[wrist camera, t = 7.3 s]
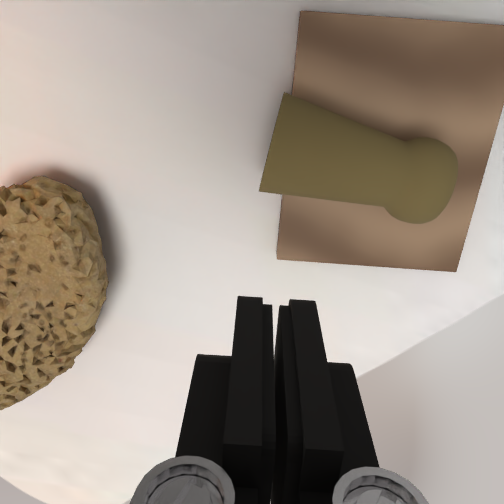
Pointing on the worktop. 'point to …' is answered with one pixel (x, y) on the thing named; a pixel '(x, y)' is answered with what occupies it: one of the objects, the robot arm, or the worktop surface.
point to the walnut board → (396, 128)
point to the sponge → (46, 283)
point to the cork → (357, 164)
